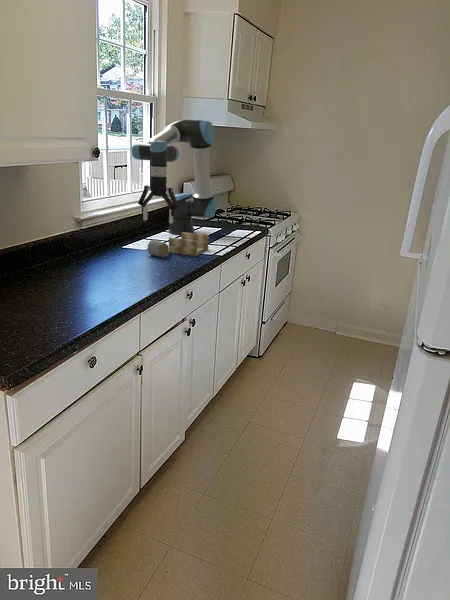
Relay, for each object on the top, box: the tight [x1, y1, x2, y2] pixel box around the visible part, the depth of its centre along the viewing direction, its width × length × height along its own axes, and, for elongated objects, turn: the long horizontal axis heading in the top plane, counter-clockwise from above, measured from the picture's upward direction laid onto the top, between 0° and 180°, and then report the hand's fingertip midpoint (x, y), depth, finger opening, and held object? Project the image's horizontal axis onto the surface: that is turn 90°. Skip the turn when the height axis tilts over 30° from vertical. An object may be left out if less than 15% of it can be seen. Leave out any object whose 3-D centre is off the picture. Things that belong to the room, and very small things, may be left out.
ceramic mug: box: [146, 239, 171, 258], centre depth 237 cm, size 11×8×8 cm
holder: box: [168, 232, 210, 257], centre depth 249 cm, size 15×16×8 cm
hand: (158, 221), depth 232 cm, fingers open, 13 cm apart
